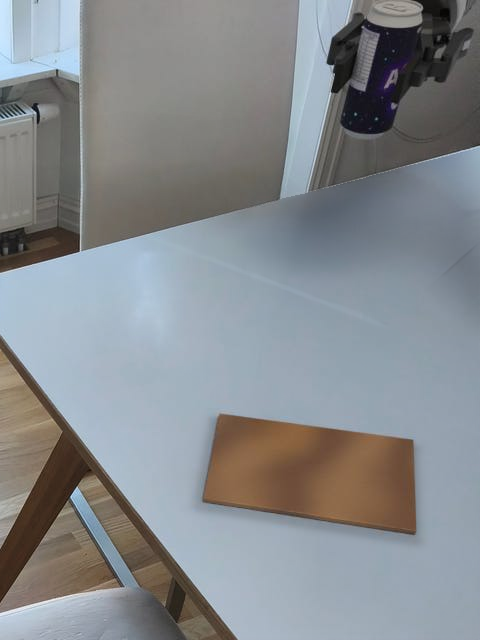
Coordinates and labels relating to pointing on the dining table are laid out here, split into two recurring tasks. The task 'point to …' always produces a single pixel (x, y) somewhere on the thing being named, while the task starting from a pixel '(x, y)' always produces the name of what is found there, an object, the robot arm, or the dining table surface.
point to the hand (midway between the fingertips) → (367, 83)
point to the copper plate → (313, 473)
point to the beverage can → (380, 67)
